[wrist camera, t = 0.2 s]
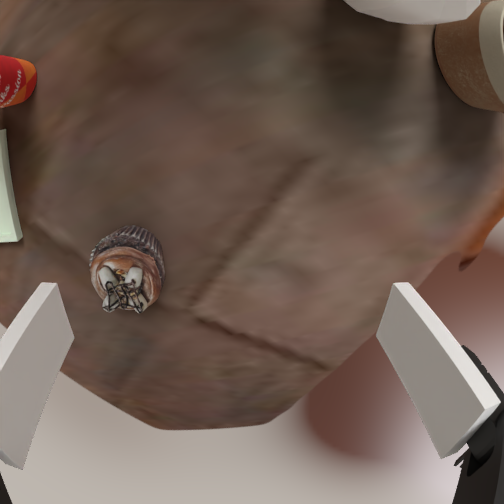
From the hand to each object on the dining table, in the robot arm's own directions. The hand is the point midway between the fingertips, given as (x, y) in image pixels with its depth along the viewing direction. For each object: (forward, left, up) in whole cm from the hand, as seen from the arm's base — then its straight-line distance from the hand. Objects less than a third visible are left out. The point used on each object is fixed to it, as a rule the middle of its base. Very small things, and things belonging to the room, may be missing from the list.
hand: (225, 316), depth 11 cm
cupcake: (+11, -12, -28) cm, 32 cm away
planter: (-20, +35, -28) cm, 49 cm away
